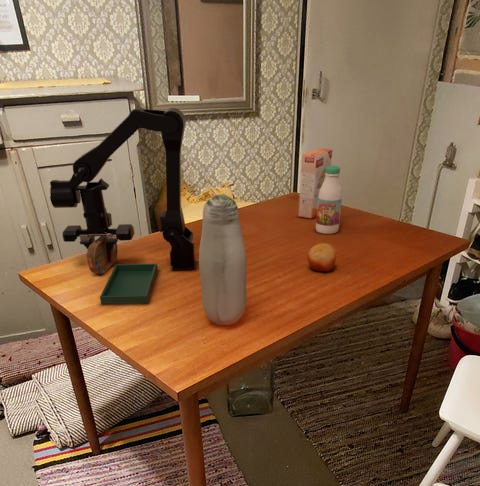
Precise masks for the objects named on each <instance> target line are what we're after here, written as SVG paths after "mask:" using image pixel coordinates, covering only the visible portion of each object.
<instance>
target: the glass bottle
mask: <svg viewBox="0 0 480 486" xmlns="http://www.w3.org/2000/svg"><path fill="white" fill-rule="evenodd" d="M201 226H202V227H201V235H200V241H199V242H200V243H199V248H198V249H199V250H198V264H199V265H198V266H199V267H198V268H199V278H200V291H201V302H202V308H203V311H204V313H205V315H206V317H207V318H208V319H209V320H210V321H211V322H212V323H214V324H215V325H219V326H231V325H233V324H235V323H236V322H238V321H239V320H240V319H241V318H242V316H243V314H244V313H245V310H246V304H247V251H246V246H245V242H244V238H243V233H242V228H241V219H240V211H239V207H238V204H237V203H236V201H235V199H233V198H232V197H230V196H228V195H226V194H216V195H213V196H210V198H208V199H207V200H206V201H205V204H204V205H203V210H202V225H201Z"/></svg>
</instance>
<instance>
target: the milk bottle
mask: <svg viewBox="0 0 480 486" xmlns="http://www.w3.org/2000/svg"><path fill="white" fill-rule="evenodd" d="M340 173H341V167H340V166H337V165H331V166H327V167H326V168H325V180H324V182H323V184H322V186H321V188H320V191H319V195H318V204H317V215H316V216H315V217H316V218H315V231H316V232H317V233H319V234H325V235H332V234H336V233H338V232H339V230H340V229H339V228H340V221H341V210H342V200H343V191H342V187H341V184H340V180H339V179H340V178H339V176H340Z"/></svg>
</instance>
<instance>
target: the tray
mask: <svg viewBox="0 0 480 486" xmlns="http://www.w3.org/2000/svg"><path fill="white" fill-rule="evenodd" d="M112 269H113V270H112V271H111V274H110V275H109V277H108V280H107V282H106V283H105V285H104V287H103V290H102V291H101V294H100V296H99V300H100V305H101V306H112V305H113V306H116V305H117V306H118V305H121V306H122V305H148V304H149V301H150V298H151V294H152V291H153V288H154V285H155V281H156V278H157V275H158V271H159V270H158V269H159V268H158V263H124V264H123V263H119V264H118V263H115V264H114V267H113V268H112Z"/></svg>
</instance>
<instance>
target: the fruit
mask: <svg viewBox="0 0 480 486" xmlns="http://www.w3.org/2000/svg"><path fill="white" fill-rule="evenodd" d="M306 259H307V262H308V264H309V266H310V268H311V270H313V271H316V272H329V271H331V270H332V269H333V268H334V266H335V264H336V261H337V252H336V249H335V248H334V247H333V245H332V244H330V243H326V242H323V243H320V242H319V243H317V244H315V245H314V246H312V247H311V248H309V250H308V252H307V254H306Z"/></svg>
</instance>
